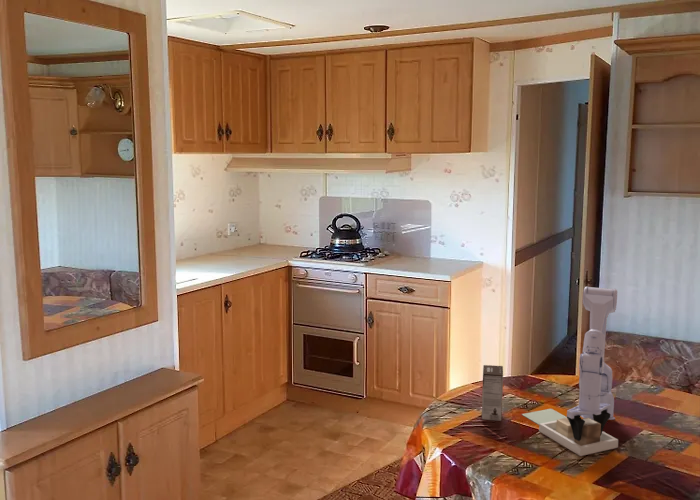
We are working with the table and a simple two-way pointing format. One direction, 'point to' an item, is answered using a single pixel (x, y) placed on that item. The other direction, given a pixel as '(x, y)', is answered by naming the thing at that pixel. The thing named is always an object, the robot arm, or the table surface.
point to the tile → (544, 416)
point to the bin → (604, 444)
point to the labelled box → (589, 432)
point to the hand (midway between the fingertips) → (587, 437)
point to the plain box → (564, 428)
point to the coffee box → (492, 392)
